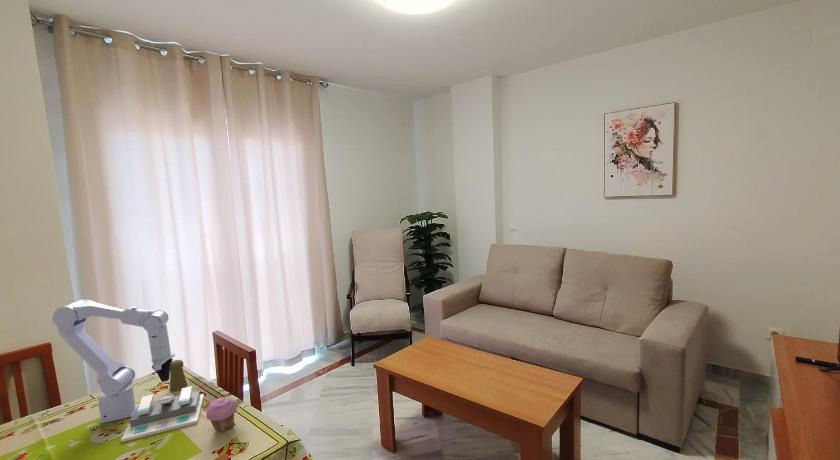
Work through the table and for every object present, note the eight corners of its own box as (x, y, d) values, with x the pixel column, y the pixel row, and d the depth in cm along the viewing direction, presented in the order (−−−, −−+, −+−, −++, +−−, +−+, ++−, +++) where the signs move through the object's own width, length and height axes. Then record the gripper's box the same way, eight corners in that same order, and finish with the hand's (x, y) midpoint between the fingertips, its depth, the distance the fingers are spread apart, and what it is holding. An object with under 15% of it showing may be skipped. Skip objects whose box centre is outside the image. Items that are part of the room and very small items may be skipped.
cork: (178, 391, 147) (175, 365, 146) (165, 390, 148) (162, 364, 147) (190, 383, 153) (187, 358, 152) (178, 382, 154) (175, 357, 153)
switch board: (121, 442, 118) (119, 432, 118) (137, 411, 135) (136, 402, 134) (197, 423, 127) (196, 413, 126) (204, 396, 143) (203, 387, 143)
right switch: (179, 408, 130) (178, 402, 130) (182, 393, 137) (181, 388, 137) (189, 405, 132) (188, 400, 131) (192, 391, 139) (191, 385, 138)
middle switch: (157, 407, 127) (157, 400, 128) (163, 403, 135) (163, 396, 135) (168, 405, 129) (168, 398, 129) (174, 401, 136) (173, 394, 136)
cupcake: (223, 438, 118) (219, 409, 117) (202, 434, 121) (198, 405, 119) (244, 421, 126) (241, 394, 125) (224, 417, 129) (221, 390, 128)
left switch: (137, 418, 126) (136, 412, 125) (143, 401, 133) (142, 396, 132) (149, 415, 127) (147, 409, 126) (154, 399, 134) (153, 394, 133)
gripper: (168, 350, 129) (174, 387, 130) (176, 335, 142) (181, 369, 144) (143, 355, 126) (150, 392, 128) (154, 339, 139) (160, 373, 141)
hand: (165, 380), depth 135 cm, fingers closed
